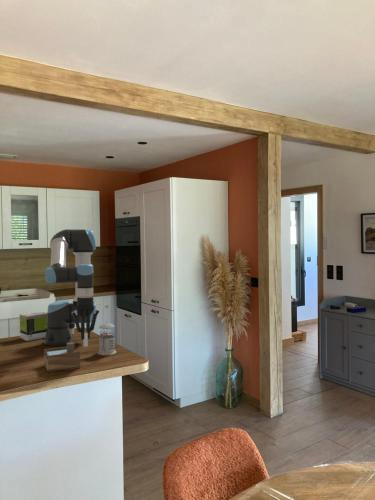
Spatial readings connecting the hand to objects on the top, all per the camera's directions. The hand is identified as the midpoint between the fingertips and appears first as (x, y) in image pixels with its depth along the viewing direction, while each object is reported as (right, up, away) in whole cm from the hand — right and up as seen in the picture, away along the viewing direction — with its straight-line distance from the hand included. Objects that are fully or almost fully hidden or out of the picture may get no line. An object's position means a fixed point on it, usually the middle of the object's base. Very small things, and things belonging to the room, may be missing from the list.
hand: (85, 345), depth 197 cm
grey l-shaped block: (-10, -4, -5) cm, 12 cm away
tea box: (-42, -7, +50) cm, 66 cm away
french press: (+6, -8, +18) cm, 21 cm away
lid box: (-10, -9, -5) cm, 14 cm away
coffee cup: (-26, -7, +59) cm, 65 cm away
